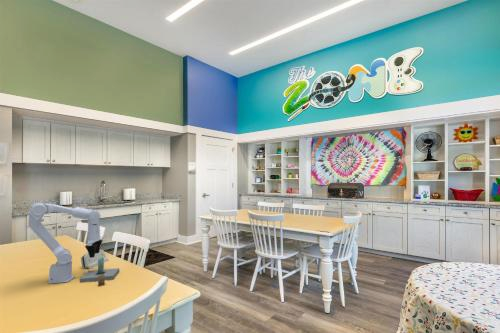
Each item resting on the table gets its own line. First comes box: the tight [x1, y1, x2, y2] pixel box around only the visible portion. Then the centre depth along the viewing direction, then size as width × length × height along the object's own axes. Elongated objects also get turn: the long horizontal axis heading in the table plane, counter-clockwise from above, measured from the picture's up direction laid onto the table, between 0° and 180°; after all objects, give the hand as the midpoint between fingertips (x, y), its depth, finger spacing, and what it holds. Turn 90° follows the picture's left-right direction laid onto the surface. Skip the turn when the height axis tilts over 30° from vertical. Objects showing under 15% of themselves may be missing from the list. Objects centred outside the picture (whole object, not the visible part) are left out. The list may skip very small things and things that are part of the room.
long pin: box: [97, 258, 105, 275], centre depth 142 cm, size 3×3×10 cm
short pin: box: [97, 275, 106, 287], centre depth 131 cm, size 3×3×4 cm
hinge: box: [80, 248, 110, 270], centre depth 163 cm, size 17×5×10 cm, turn 169°
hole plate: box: [79, 267, 120, 284], centre depth 142 cm, size 16×12×2 cm
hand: (94, 255), depth 147 cm, fingers open, 7 cm apart
